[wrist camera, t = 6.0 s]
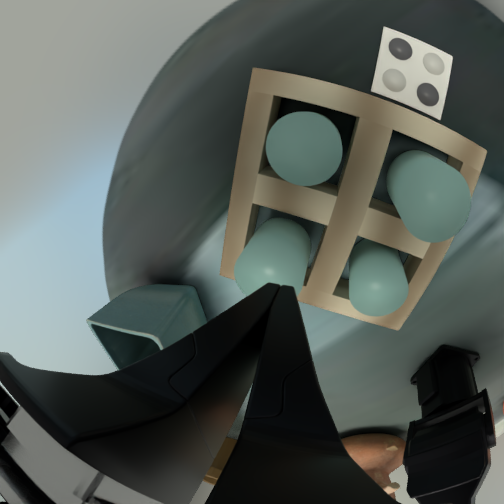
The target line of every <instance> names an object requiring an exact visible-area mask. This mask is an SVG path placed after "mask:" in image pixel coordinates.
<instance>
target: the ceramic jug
mask: <svg viewBox="0 0 504 504" xmlns="http://www.w3.org/2000/svg"><path fill="white" fill-rule="evenodd" d="M341 440H342V443H343V445H344V447H345V449H346V450H347V452H348V453H349V455H350V456H351V458H352V459H353V460H354V461H355V462H356V463H357V464H358V465H359V466H360V467H361V468H362V469H363V470H364V471H365V472H366V473H367V474H368V475H369V476H370V477H371V478H372V479H373V480H374V481H375V482H376V483H377V484H378V485H379V486H380V487H381V488H382V489H383V490H384V491H385V492H387V493H388V494H389V495H390V496H391V497H392V498H393V499H395V493H394V491H396V490H397V489H399V487H400V485H399V484H398V483H396V482H394V483H391V481H390V478H389V474H390V473H391V472H393V471H394V470H395V469H397V468H398V467H399V466H401V465H402V464H403V463H402V461H403V455H404V450H405V445H406V442H405V441H404V440H403V439H401V438H399V437H397V436H394V435H389V434H380V433H369V434H359V435H354V436H349V437H346V438H343V439H341ZM395 500H396V499H395Z"/></svg>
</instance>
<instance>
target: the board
mask: <svg viewBox="0 0 504 504" xmlns="http://www.w3.org/2000/svg"><path fill="white" fill-rule="evenodd" d="M282 97H284V98H289V99H294V100H298V101H302V102H307V103H311V104H315V105H319V106H322V107H326V108H330V109H333V110H337V111H340V112H343V113H347V114H350V115H353V116H356V121H355V125H354V129H353V132H352V136H351V140H350V144H349V147H348V151H347V155H346V158H345V162H344V165H343V169H342V172H341V176H340V179H339V182H338V186H337V185H334V184H330V183H327V182H322V183H320V184H317V185H312V186H300V185H295V184H292V183H290V182H288V181H286V180H284V179H283V178H281V177H280V176H279V175H278V174H277V173H276V172H275V171H274V169H273V168H272V167H271V166H268V162H269V161H268V158H267V154H266V140H267V136H268V134H269V131H270V129H271V128H272V126H273V125H274V124H275V123H276V122H277V118H278V113H279V108H280V103H281V98H282ZM392 130H395V131H398V132H400V133H402V134H405V135H407V136H410V137H412V138H414V139H417V140H419V141H421V142H423V143H425V144H428V145H430V146H432V147H434V148H436V149H438V150H440V151H442V152H444V153H446V154H448V155H449V157H448V160H447V163H446V164H448V165H450V166H451V167H453V168H455V169H456V170H457V171H458V172H460V174H461V175H462V176H463V177H464V179H465V180H466V182H467V184H468V187H469V190H470V194H471V197H472V194H473V192H474V189H475V186H476V184H477V181H478V178H479V175H480V172H481V169H482V166H483V163H484V160H485V156H486V153H487V150H485V149H483V148H482V147H480V146H479V145H477V144H475V143H474V142H472V141H470V140H469V139H467V138H465V137H463V136H462V135H460V134H458V133H456V132H454V131H452V130H451V129H449V128H447V127H445V126H443V125H441V124H439V123H437V122H435V121H433V120H431V119H429V118H427V117H424V116H422V115H420V114H418V113H416V112H413V111H411V110H409V109H406V108H404V107H401V106H399V105H396V104H394V103H391V102H389V101H386V100H383V99H381V98H378V97H375V96H372V95H369V94H366V93H363V92H360V91H357V90H354V89H351V88H347V87H344V86H340V85H337V84H333V83H329V82H325V81H321V80H317V79H313V78H309V77H304V76H299V75H295V74H289V73H284V72H278V71H272V70H266V69H259V68H253V70H252V76H251V81H250V86H249V91H248V97H247V102H246V108H245V113H244V119H243V124H242V130H241V136H240V142H239V148H238V154H237V160H236V166H235V172H234V178H233V185H232V191H231V198H230V204H229V211H228V218H227V225H226V232H225V239H224V246H223V253H222V261H221V268H220V275H221V276H224V277H227V278H230V279H233V280H235V276H234V266H235V263H236V261H237V259H238V257H239V256H240V254H241V253H242V251H243V250H244V248H245V247H246V245H247V244H248V242H249V241H250V239H251V238H252V236H253V235H254V230H255V225H256V220H257V215H258V211H259V206H260V205H261V206H265V207H268V208H271V209H275V210H278V211H282V212H285V213H288V214H292V215H295V216H298V217H302V218H305V219H308V220H311V221H315V222H318V223H321V224H324V225H325V227H324V230H323V233H322V236H321V239H320V242H319V244H318V247H317V250H316V253H315V256H314V259H313V262H312V264H311V267H310V268H308V267H307V270H306V274H305V278H304V282H303V286H302V290H301V292H300V293H299V295H298V296H297V299H298V301H300V302H303V303H306V304H310V305H313V306H316V307H319V308H322V309H326V310H329V311H332V312H336V313H339V314H342V315H346V316H349V317H352V318H356V319H359V320H363V321H366V322H370V323H373V324H377V325H380V326H384V327H387V328H391V329H394V330H399V329H400V327H401V326H402V325H403V323H404V322H405V320H406V319H407V317H408V316H409V314H410V313H411V311H412V310H413V308H414V307H415V305H416V304H417V302H418V301H419V299H420V298H421V296H422V294H423V293H424V291H425V289H426V288H427V286H428V284H429V283H430V281H431V279H432V278H433V276H434V274H435V272H436V271H437V269H438V267H439V265H440V263H441V261H442V260H443V258H444V256H445V254H446V252H447V250H448V248H449V246H450V244H451V242H452V240H453V238H454V236H455V235H454V236H453V237H451V238H450V239H448V240H445V241H442V242H436V243H430V242H425V241H422V240H420V239H418V238H416V237H415V236H413V235H412V234H411V233H410V232H409V231H408V230H407V228H406V227H405V225H404V223H403V221H402V219H401V217H400V215H399V213H398V211H397V209H396V207H395V206H394V205H391V204H388V203H386V202H383V201H380V200H378V199H375V198H372V195H373V192H374V189H375V186H376V183H377V180H378V177H379V174H380V171H381V168H382V164H383V161H384V158H385V155H386V151H387V148H388V145H389V141H390V138H391V134H392ZM357 235H358V236H361V237H364V238H367V239H369V240H372V241H375V242H378V243H381V244H384V245H387V246H389V247H392V248H395V249H398V250H401V251H403V252H406V253H409V255H408V257H407V259H406V261H405V263H404V265H403V269H404V272H405V275H406V279H407V282H408V287H409V290H408V296H407V298H406V300H405V302H404V303H403V305H402V306H401V307H400V308H398V309H397V310H396V311H394V312H392V313H390V314H388V315H384V316H368V315H365V314H362V313H360V312H359V311H357V310H356V309H355V308H354V307H353V305H352V304H351V302H350V298H349V280H346V279H343V278H340V276H341V274H342V271H343V269H344V267H345V264H346V262H347V260H348V257H349V255H350V253H351V250H352V248H353V245H354V243H355V240H356V238H357Z"/></svg>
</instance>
